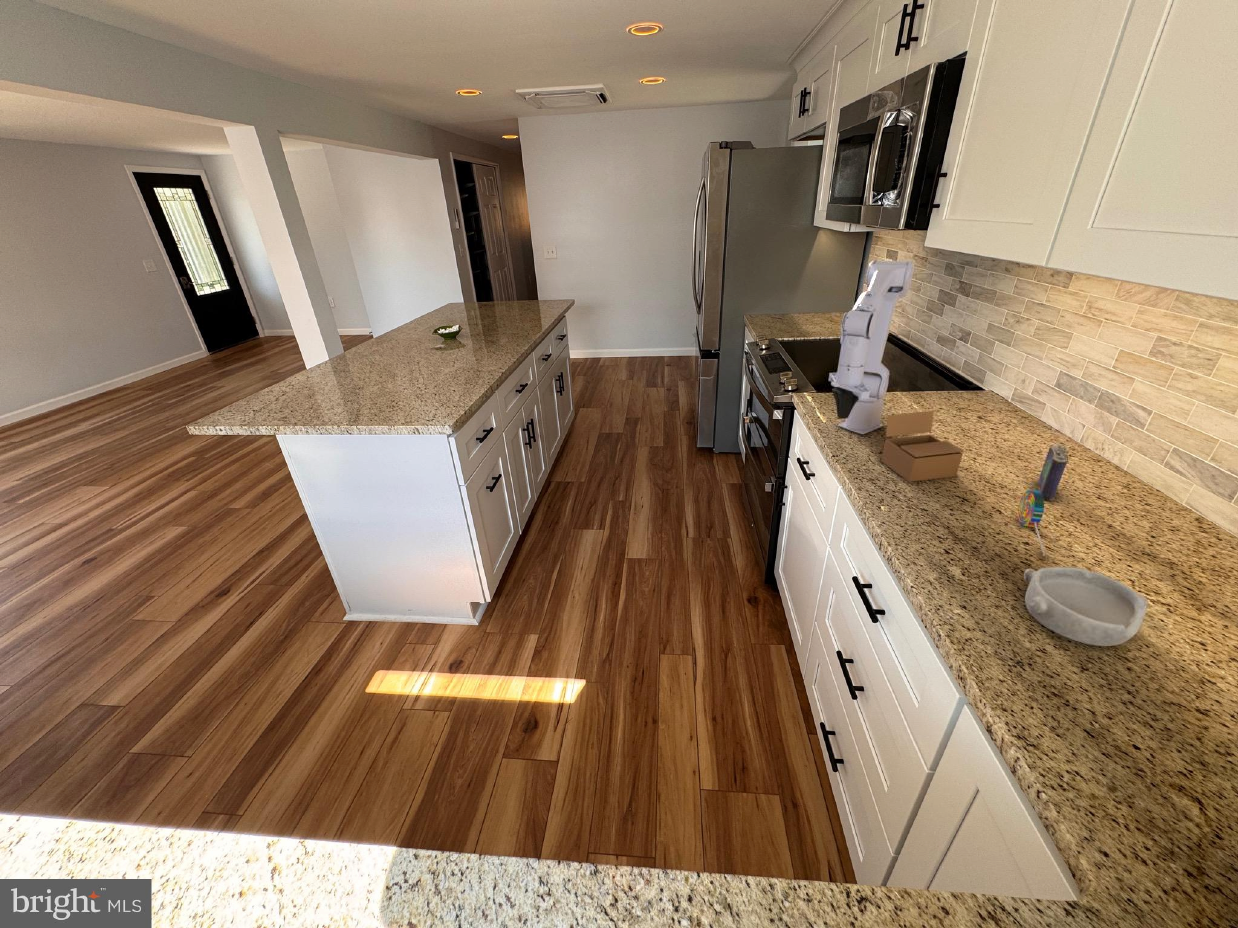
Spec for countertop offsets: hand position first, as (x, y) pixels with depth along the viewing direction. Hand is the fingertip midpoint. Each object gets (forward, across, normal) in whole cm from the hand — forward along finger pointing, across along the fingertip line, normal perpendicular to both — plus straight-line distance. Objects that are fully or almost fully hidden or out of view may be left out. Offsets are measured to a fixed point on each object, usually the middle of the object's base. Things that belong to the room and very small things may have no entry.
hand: (842, 417), depth 125 cm
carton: (+10, +11, +15) cm, 21 cm away
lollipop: (+10, +39, +18) cm, 44 cm away
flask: (+10, +26, +34) cm, 44 cm away
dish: (+10, +59, +6) cm, 60 cm away
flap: (+1, +5, +15) cm, 16 cm away
